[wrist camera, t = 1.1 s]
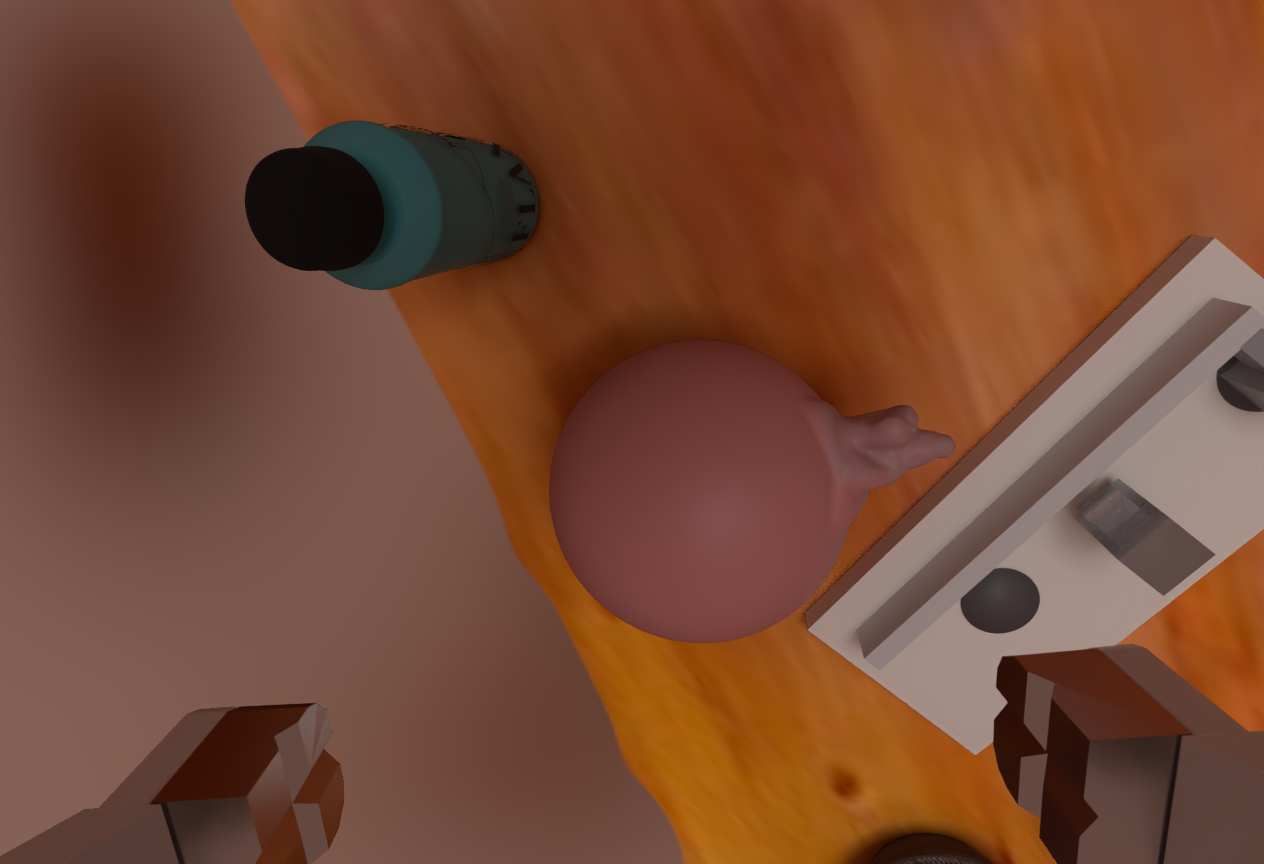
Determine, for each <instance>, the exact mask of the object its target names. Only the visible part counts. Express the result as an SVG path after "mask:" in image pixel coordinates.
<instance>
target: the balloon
mask: <svg viewBox="0 0 1264 864" xmlns="http://www.w3.org/2000/svg"><path fill="white" fill-rule="evenodd" d="M918 421H919V420H918V415H917V413H916V411H915V410H914V409H913V408H912V407H911V406H908V405H898V406H894V407H891V408H888V409H883V410H878V411H874V412H871V413H866V414H862V415H857V416H853V417H845V416H843V415H842V414H841V413H840V412H838V411H837V410H836V409H835V408H834V407H833V406H832V405H831V404H829V403H828V402H826V401H823V400H821V399H820V398H819V396H818V395H817V394H816V393H815V392H814V391H813V389H812V388H811V387H810V386H809V385H808V384H807V383H806V382H805V381H804V380H802V379H801V378H800V377H799V376H798V375H797V374H795V373H794V372H793V371H792V370H790V369H789V368H787V367H786V366H784V365H783V364H781V363H780V362H778V361H776V360H775V359H773V358H771V357H769V356H767V355H765V354H763V353H761V352H758V351H756V350H753V349H750V348H747V347H744V346H741V345H737V344H733V343H727V342H721V341H713V340H687V341H678V342H672V343H667V344H663V345H659V346H656V347H653V348H650V349H647V350H644V351H642V352H640V353H637V354H635V355H633V356H631V357H629V358H628V359H626V360H624V361H622V362H621V363H619V364H617V365H616V366H614V367H613V368H612V369H610V370H609V371H608V372H606V373H605V374H604V375H603V376H602V377H600V378H599V379H598V380H597V381H596V382H595V383H594V384H593V385H592V386H591V387H590V388H589V389H588V390H587V391H586V393H585V394H584V395H583V396H582V397H581V399H580V400H579V401H578V403H577V404H576V406H575V407H574V409H573V410H572V412H571V413H570V415H569V417H568V419H567V421H566V423H565V425H564V427H563V429H562V431H561V434H560V436H559V439H558V442H557V445H556V448H555V452H554V456H553V460H552V466H551V473H550V488H549V493H550V508H551V515H552V521H553V525H554V529H555V533H556V536H557V539H558V542H559V545H560V547H561V550H562V552H563V554H564V556H565V558H566V560H567V562H568V564H569V566H570V567H571V569H572V571H573V572H574V574H575V575H576V577H577V578H578V580H579V581H580V582H581V584H582V585H583V586H584V587H585V589H586V590H587V591H588V592H589V593H590V594H591V595H592V596H593V597H594V598H595V599H596V600H597V601H598V602H599V603H600V604H601V605H602V606H603V607H605V608H606V609H607V610H608V611H610V612H611V613H612V614H614V615H615V616H616V617H618V618H619V619H621V620H623V621H624V622H626V623H628V624H630V625H631V626H633V627H635V628H638V629H640V630H642V631H644V632H647V633H649V634H652V635H655V636H658V637H662V638H666V639H670V640H675V641H681V642H690V643H714V642H723V641H730V640H735V639H739V638H743V637H746V636H750V635H753V634H755V633H758V632H760V631H762V630H765V629H767V628H769V627H771V626H773V625H775V624H777V623H778V622H780V621H782V620H783V619H785V618H786V617H788V616H789V615H791V614H792V613H793V612H795V611H796V610H797V609H798V608H800V607H801V606H802V605H803V604H804V603H805V602H806V601H807V600H808V599H809V598H810V597H811V596H812V595H813V594H814V593H815V592H816V591H817V590H818V588H819V587H820V586H821V585H822V583H823V582H824V581H825V579H826V578H827V576H828V575H829V573H830V571H831V570H832V568H833V566H834V565H835V563H836V561H837V559H838V557H839V555H840V552H841V550H842V548H843V545H844V542H845V539H846V536H847V532H848V528H849V527H850V525H851V523H852V522H853V520H854V519H855V517H856V515H857V514H858V512H859V511H860V510H861V509H862V507H863V506H864V504H865V502H866V500H867V497H868V493H869V490H871V489H875V488H878V487H882V486H887V485H890V484H892V483H894V482H895V481H896V480H897V479H898V478H899V477H900V476H901V475H902V474H903V473H904V472H906V471H908V470H911V469H913V468H915V467H918V466H921V465H924V464H927V463H929V462H930V461H932V460H934V459H936V458H947V457H949V456H950V455H951V454H952V453H953V452H954V450H955V443H954V441H953V439H952V438H951V437H950V436H948V435H945V434H940V433H937V432H935V431H927V430H921V429H918V428H917V425H918Z"/></svg>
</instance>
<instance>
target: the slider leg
mask: <svg viewBox="0 0 1264 864" xmlns="http://www.w3.org/2000/svg"><path fill="white" fill-rule="evenodd" d="M1076 509H1077V510H1078V511H1079V513H1078V514H1077V515H1076V516H1075V518H1076V519H1077V520H1078V521H1079V522H1080V523H1081V524H1082V525H1083V526H1084V527H1085V528H1086V529H1087V530H1088V531H1089V532H1090V533H1091V534H1092V535H1093V536H1094V537H1095V538H1096V539H1097V540H1098V541H1099V542H1100V543H1101V544H1102V545H1103V546H1104V547H1105V548H1106V549H1107V550H1108V551H1109V552H1110V553H1111V554H1112V555H1113V556H1114V557H1115V558H1116V559H1117V560H1118V561H1120V562H1121V563H1122V564H1123V565H1125V566H1126V567H1127V568H1129V569H1130V570H1131V571H1132V572H1134V573H1135V574H1136V575H1137V576H1139V577H1140V578H1141V579H1142V580H1144V581H1145V582H1146V583H1148V584H1149V585H1150V586H1151V587H1153V588H1154V589H1155V590H1156V591H1158V592H1159V593H1160V594H1161V595H1163V596H1164V595H1166V594H1167V593H1168V592H1169V591H1171V590H1172V589H1173V588H1175V587H1176V586H1177V585H1178V584H1180V583H1181V582H1182V581H1183V580H1185V579H1186V578H1187V577H1188V576H1190V575H1191V574H1192V573H1193V572H1195V571H1196V570H1197V569H1198V568H1200V567H1201V566H1202V565H1204V564H1205V563H1206V562H1207V561H1209V560H1210V559H1211V558H1212V557H1214V556H1215V555H1216V554H1214V553H1213V552H1212V551H1211V550H1209V549H1208V548H1207V547H1206V546H1204V545H1203V544H1202V543H1201V542H1199V541H1198V540H1197V539H1196V538H1194V537H1193V536H1192V535H1191V534H1189V533H1188V532H1187V531H1186V530H1184V529H1183V528H1182V527H1181V526H1180V525H1178V524H1177V523H1176V522H1175V521H1173V520H1172V519H1171V518H1170V517H1168V516H1167V515H1166V514H1164V513H1163V512H1162V511H1160V510H1159V509H1158V508H1156V507H1155V506H1154V505H1152V504H1151V503H1150V502H1149V501H1147V500H1146V499H1145V498H1143V497H1142V496H1141V495H1139V494H1138V493H1137V492H1135V491H1134V490H1133V489H1132V488H1130V487H1129V486H1128V485H1126V484H1125V483H1124V482H1122V481H1121V480H1120V479H1117V480H1116V481H1115V482H1113V483H1112V484H1111V485H1110V484H1109V483H1108V482H1106V483H1105V484H1104V485H1102V486H1101V487H1100V488H1099V489H1098V490H1097V491H1096V492H1095V493H1093V494H1092V495H1091V496H1090V497H1089V498H1088V499H1087V500H1085V501H1084V502H1083V503H1082V504H1081V505H1080V506H1079V507H1078V508H1076Z"/></svg>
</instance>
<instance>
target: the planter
mask: <svg viewBox="0 0 1264 864" xmlns="http://www.w3.org/2000/svg"><path fill="white" fill-rule="evenodd" d="M870 864H993V863H992V862H990V861H989V860H988V859H986V858H985V857H983V856H982V855H981V854H979V853H978V852H976V851H975V850H973V849H972V848H970V847H969V846H967V845H966V844H964V843H962V842H960V841H958V840H956V839H953V838H950V837H947V836H943V835H937V834H914V835H909V836H905V837H901V838H899V839H896V840H894V841H892V842H890V843H888V844H887V845H886V846H884V847H883V848H882V849H881V850H880V851H879V852H878V853H877V854H876V855H875V857H874V858H873V860H872V861H871V863H870Z"/></svg>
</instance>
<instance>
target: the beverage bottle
mask: <svg viewBox="0 0 1264 864" xmlns="http://www.w3.org/2000/svg"><path fill="white" fill-rule="evenodd" d="M386 124H387V123H386ZM395 124H396V123H395ZM397 126H399V127H401V124H400V125H397ZM403 126H404V125H403ZM392 127H394V126H390V127H386V126H384V125H382V124H381V125H380V124H377V123H373V122H366V121H346V122H341V123H337V124H334V125H331V126H329V127H327V128H325V129H323V130H322V131H320V132H319V133H318V134H316V135H315V136H314V137H312V138H311V139H310V140H309V141H308V142H307V143H306V145H305V146H304V147H301V148H289V149H283V150H279V151H276V152H274V153H272V154H270V155H268V156H267V157H265V158H264V159H262V160H261V161H260V162H259V163H258V164H257V165H256V167H255V168H254V170H253V171H252V173H251V175H250V177H249V180H248V183H247V186H246V193H245V208H246V214H247V218H248V222H249V225H250V227H251V230H252V232H253V234H254V236H255V237H256V239H257V241H258V242H259V243H260V245H261V246H262V247H263V249H265V251H266V252H267V253H268V254H270V255H271V256H272V257H273V258H274V259H276V260H278V261H279V262H281V263H283V264H284V265H287V266H289V267H293V268H295V269H299V270H305V271H316V270H321V271H326V272H327V273H328V274H330V275H331V276H333V277H334V278H336V279H338V280H340V281H342V282H344V283H346V284H349V285H351V286H354V287H357V288H362V289H369V290H384V289H390V288H394V287H397V286H401V285H403V284H405V283H407V282H409V281H412V280H416V279H419V278H423V277H427V276H430V275H434V274H438V273H441V272H445V271H449V270H452V269H459V268H464V267H468V266H472V265H476V264H477V265H478V264H480V263H484V262H487V263H488V261H492V260H493V261H494V260H495V261H494V263H495V262H497V261H496V259H499V258H503V257H505V258H506V257H507V256H508V255H509V256H510V254H512V253H514V252H515V251H517V250H518V249H519V248H520V247H522V246H523V244H524V243H525V242H527V241H528V240H529V239H528V238H529V237H530V236H531V234H532V232H533V230H534V227H535V224H536V221H537V217H538V210H539V202H538V194H537V190H536V187H535V184H534V181H533V179H532V177H531V175H530V174H529V172H528V170H527V169H526V168H525V166H524V165H523V164H522V163H521V161H519V160H518V159H517V158H518V157H517V156H516V157H517V158H516V157H515V156H514V155H512V154H513V153H512V154H511V153H509V152H508V151H509V150H508V151H506V150H504V149H502V148H500V146H501V145H500V146H498V145H497V144H496V143H495V144H494V143H493V145H489V144H486V143H483V142H481V143H479V142H480V141H479V142H475V140H476V139H475V138H474V139H475V140H474V142H473V140H472V141H471V139H470V138H469V137H468V138H469V139H470V141H468V140H469V139H468V140H465V139H466V137H465V138H461V137H463V136H461V137H460V136H459V137H456V136H453V135H452V136H451V134H448V135H446V136H439V133H433V132H432V131H431V133H432V134H428V133H425V132H424V133H423V131H422V132H417V131H411V130H408V129H400V128H399V127H395V128H392ZM409 127H410V126H409ZM411 127H412V126H411ZM404 128H407V126H406V125H405V126H404ZM416 128H417V127H416ZM410 129H412V128H410ZM414 129H415V128H414ZM419 129H421V128H419ZM412 130H413V129H412ZM417 130H418V129H417ZM420 131H421V130H420ZM425 131H428V129H425ZM429 132H430V131H429ZM434 132H435V131H434ZM436 132H437V131H436ZM443 133H444V132H443ZM443 133H440V134H443ZM434 134H436V135H434ZM446 134H447V133H446ZM479 140H480V139H479ZM482 141H484V140H482ZM491 143H492V142H491ZM504 148H505V147H504ZM510 152H511V151H510ZM519 158H520V157H519ZM520 159H521V158H520ZM525 165H526V164H525ZM527 168H528V167H527ZM528 169H529V168H528ZM531 174H532V173H531ZM532 176H533V175H532ZM533 178H534V177H533ZM535 183H536V182H535ZM536 186H537V185H536ZM537 189H538V188H537ZM538 193H539V192H538ZM539 200H540V198H539ZM539 215H540V211H539ZM538 220H539V219H538ZM537 224H538V223H537ZM536 227H537V226H536ZM535 230H536V229H535ZM534 232H535V231H534ZM533 234H534V233H533ZM532 236H533V235H532ZM531 238H532V237H531ZM529 241H530V240H529ZM526 245H527V244H526ZM526 245H525V246H526ZM525 246H524V247H525ZM524 247H523V248H524ZM519 250H520V251H521V250H522V249H519ZM514 254H515V253H514ZM511 256H514V255H511ZM507 258H509V257H507ZM507 258H506V259H507ZM503 260H504V259H503ZM499 261H500V260H499ZM491 264H492V263H491ZM481 265H482V264H481ZM483 265H484V264H483ZM483 265H482V266H483ZM485 265H486V263H485ZM478 267H480V266H478ZM468 270H469V269H468ZM463 271H464V270H463Z"/></svg>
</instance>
